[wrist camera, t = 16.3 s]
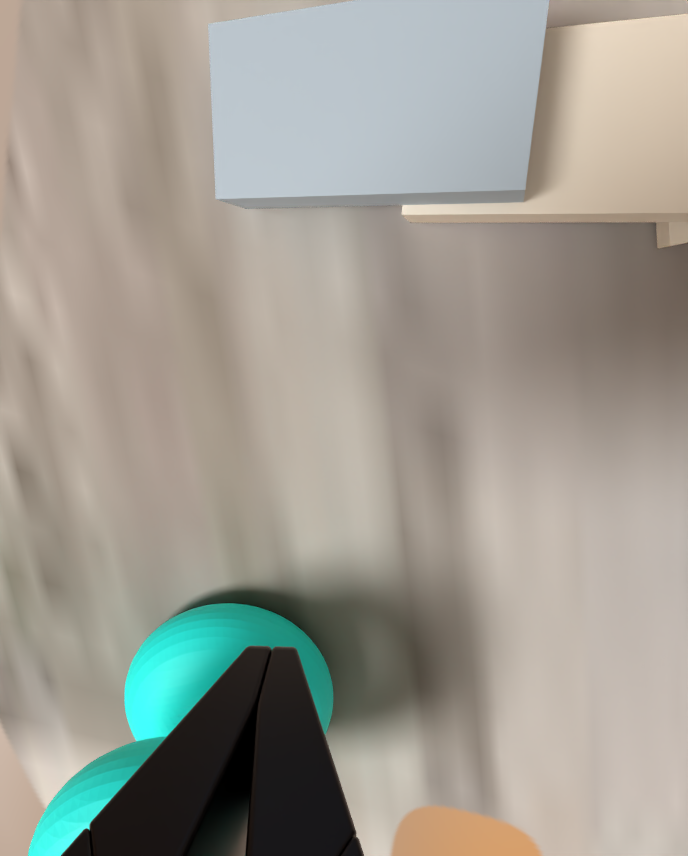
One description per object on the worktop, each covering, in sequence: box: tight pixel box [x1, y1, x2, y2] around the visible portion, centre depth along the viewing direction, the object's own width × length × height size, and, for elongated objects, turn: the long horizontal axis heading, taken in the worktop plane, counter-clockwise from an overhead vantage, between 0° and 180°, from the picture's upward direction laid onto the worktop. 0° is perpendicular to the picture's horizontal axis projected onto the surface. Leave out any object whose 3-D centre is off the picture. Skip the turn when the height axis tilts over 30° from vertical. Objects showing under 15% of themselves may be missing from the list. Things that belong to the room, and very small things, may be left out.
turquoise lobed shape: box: [28, 603, 333, 856], centre depth 20 cm, size 10×10×10 cm
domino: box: [208, 0, 549, 209], centre depth 15 cm, size 2×5×10 cm
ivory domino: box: [402, 14, 688, 223], centre depth 15 cm, size 2×5×10 cm
